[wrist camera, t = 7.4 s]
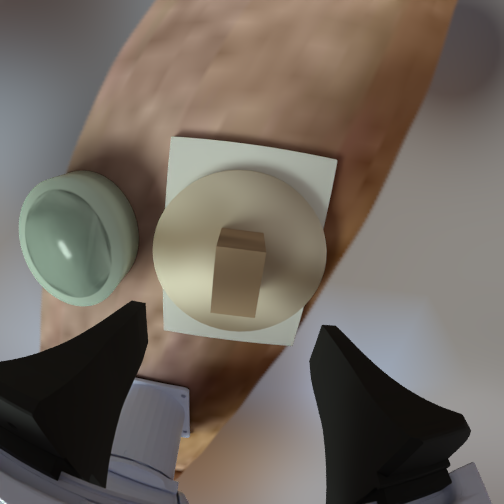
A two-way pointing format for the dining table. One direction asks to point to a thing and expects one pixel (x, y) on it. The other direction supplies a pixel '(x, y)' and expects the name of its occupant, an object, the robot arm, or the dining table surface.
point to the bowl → (78, 236)
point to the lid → (239, 250)
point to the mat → (256, 159)
